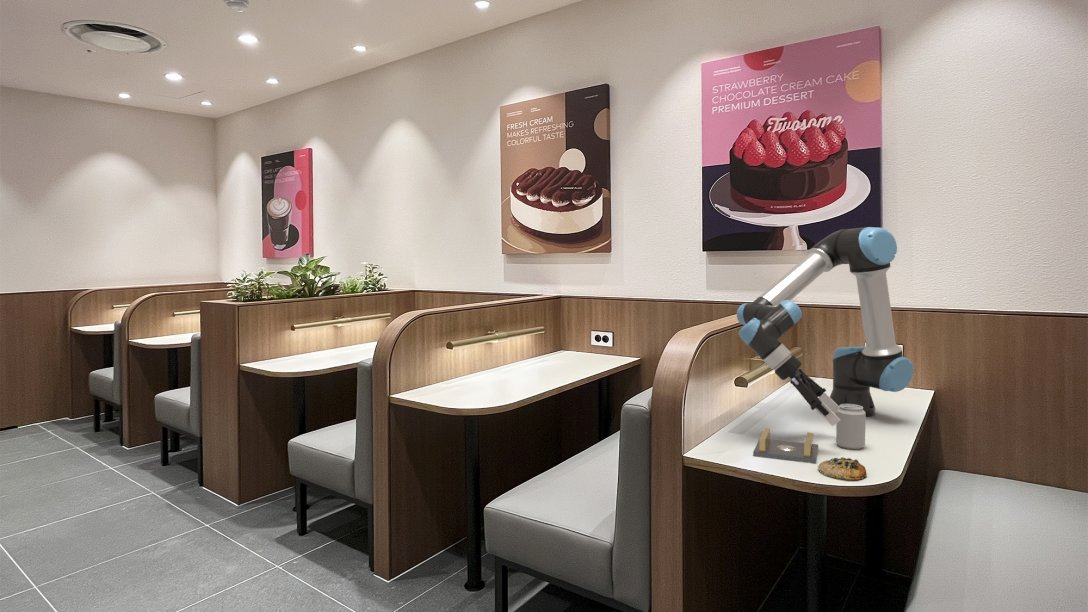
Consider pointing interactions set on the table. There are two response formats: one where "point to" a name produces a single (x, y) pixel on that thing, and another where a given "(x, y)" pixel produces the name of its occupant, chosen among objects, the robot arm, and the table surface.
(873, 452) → the table surface
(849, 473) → the bread roll
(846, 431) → the can
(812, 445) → the holder plate
